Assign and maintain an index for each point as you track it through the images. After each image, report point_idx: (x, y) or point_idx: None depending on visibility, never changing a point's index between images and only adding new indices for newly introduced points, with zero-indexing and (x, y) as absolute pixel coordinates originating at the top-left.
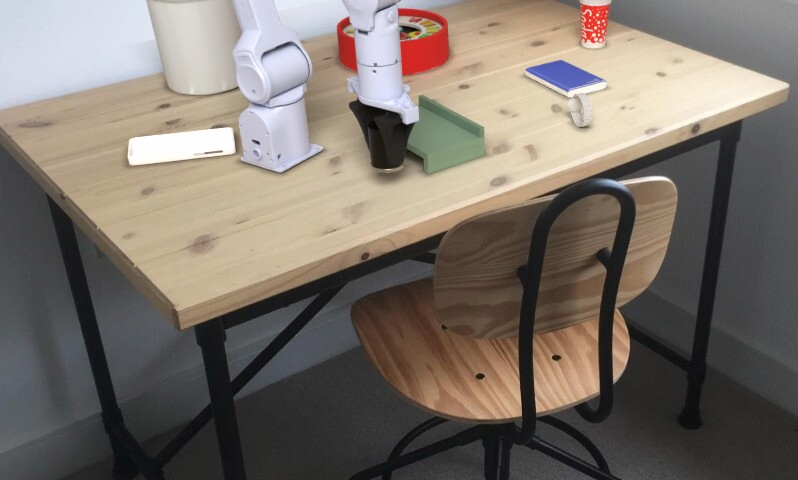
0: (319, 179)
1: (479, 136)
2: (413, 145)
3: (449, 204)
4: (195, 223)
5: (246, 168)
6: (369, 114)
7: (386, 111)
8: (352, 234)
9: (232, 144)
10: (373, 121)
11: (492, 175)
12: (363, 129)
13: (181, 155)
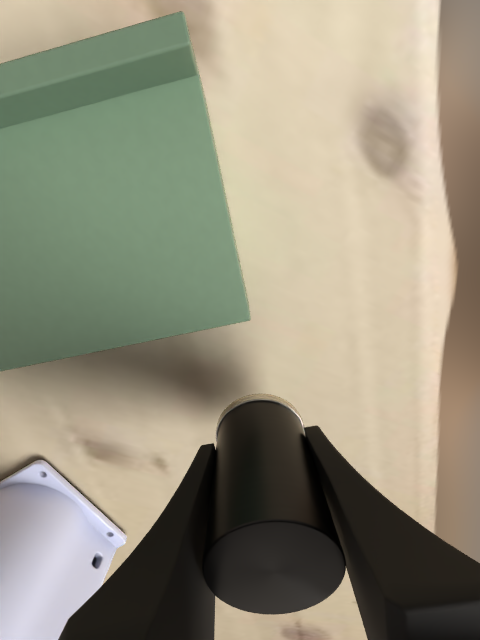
0: (174, 492)
1: (192, 73)
2: (168, 333)
3: (413, 319)
4: (243, 634)
5: None
6: (200, 637)
7: (176, 566)
8: (400, 500)
9: None
10: (220, 590)
11: (339, 141)
12: None
13: None
